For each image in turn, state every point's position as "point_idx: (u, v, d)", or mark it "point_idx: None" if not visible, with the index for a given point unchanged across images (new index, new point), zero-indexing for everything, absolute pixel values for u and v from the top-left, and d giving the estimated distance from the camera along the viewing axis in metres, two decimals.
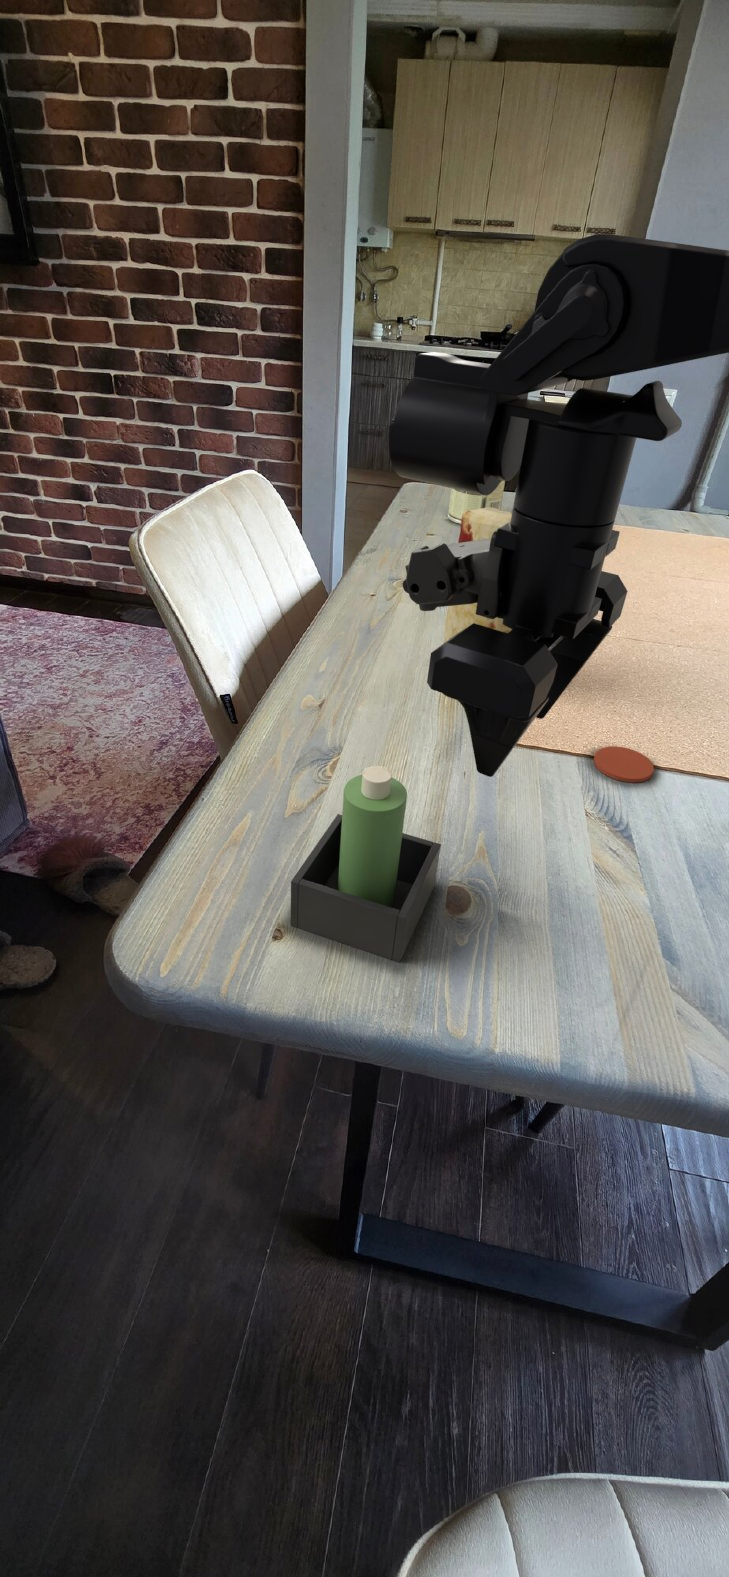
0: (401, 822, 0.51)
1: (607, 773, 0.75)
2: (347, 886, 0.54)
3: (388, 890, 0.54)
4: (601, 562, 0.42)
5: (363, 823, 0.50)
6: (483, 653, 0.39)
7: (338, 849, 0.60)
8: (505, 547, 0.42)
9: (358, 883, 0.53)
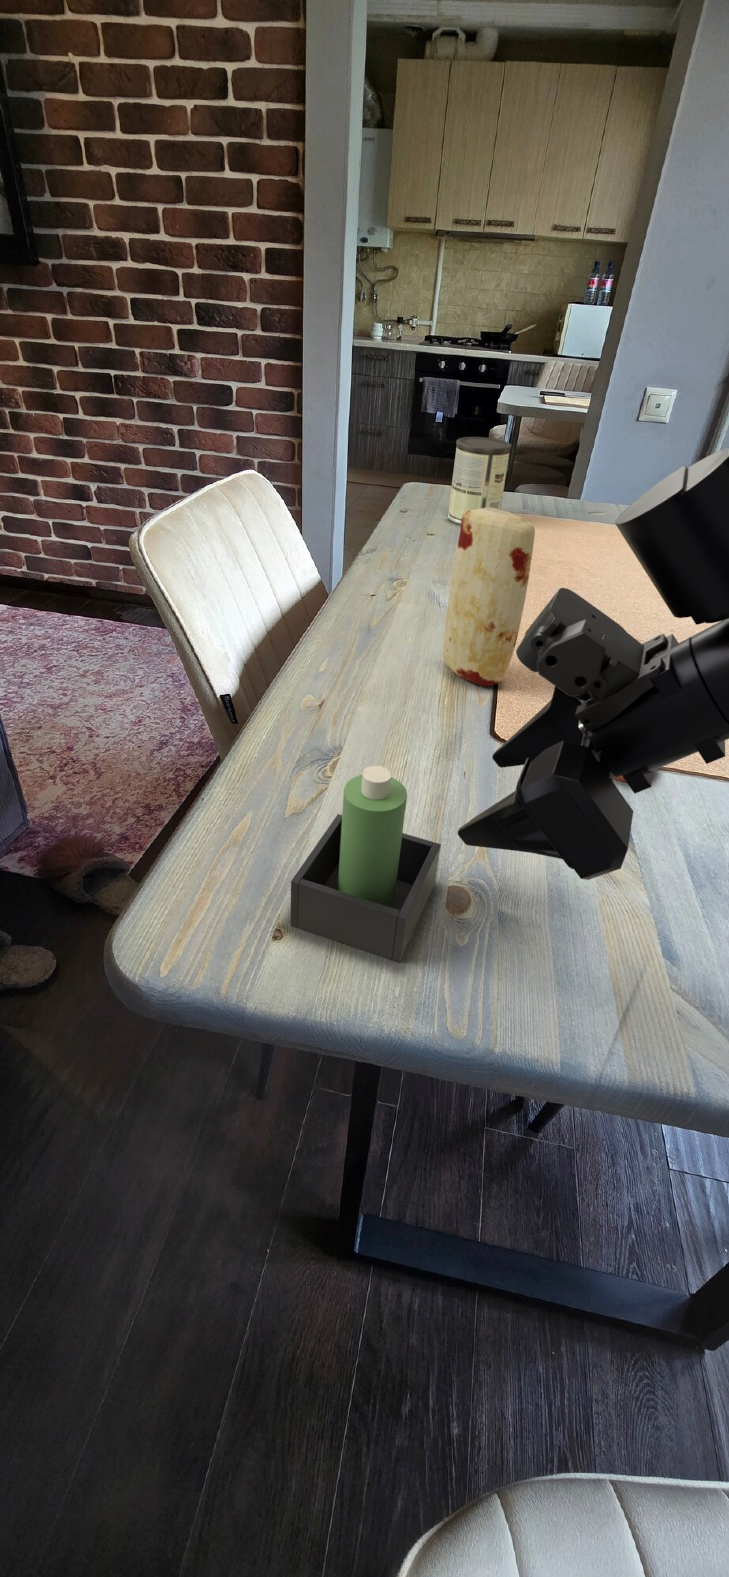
0: (401, 822, 0.51)
1: None
2: (347, 886, 0.54)
3: (388, 890, 0.54)
4: None
5: (363, 823, 0.50)
6: (602, 813, 0.35)
7: (338, 849, 0.60)
8: (658, 688, 0.38)
9: (358, 883, 0.53)
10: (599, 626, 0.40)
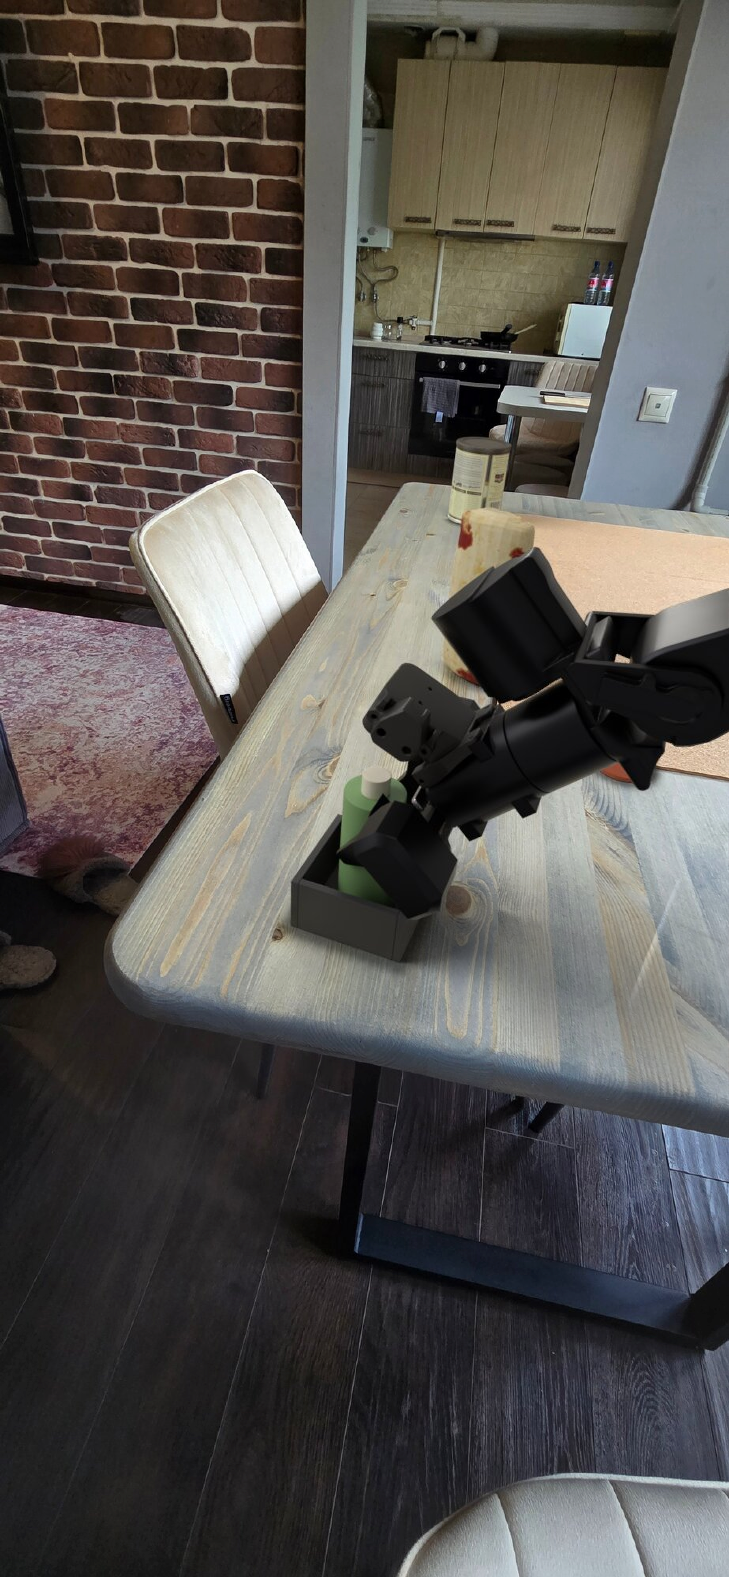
0: None
1: (607, 773, 0.75)
2: (347, 886, 0.54)
3: None
4: None
5: (363, 823, 0.50)
6: (418, 865, 0.41)
7: (338, 849, 0.60)
8: (475, 754, 0.44)
9: (358, 883, 0.53)
10: (433, 698, 0.46)
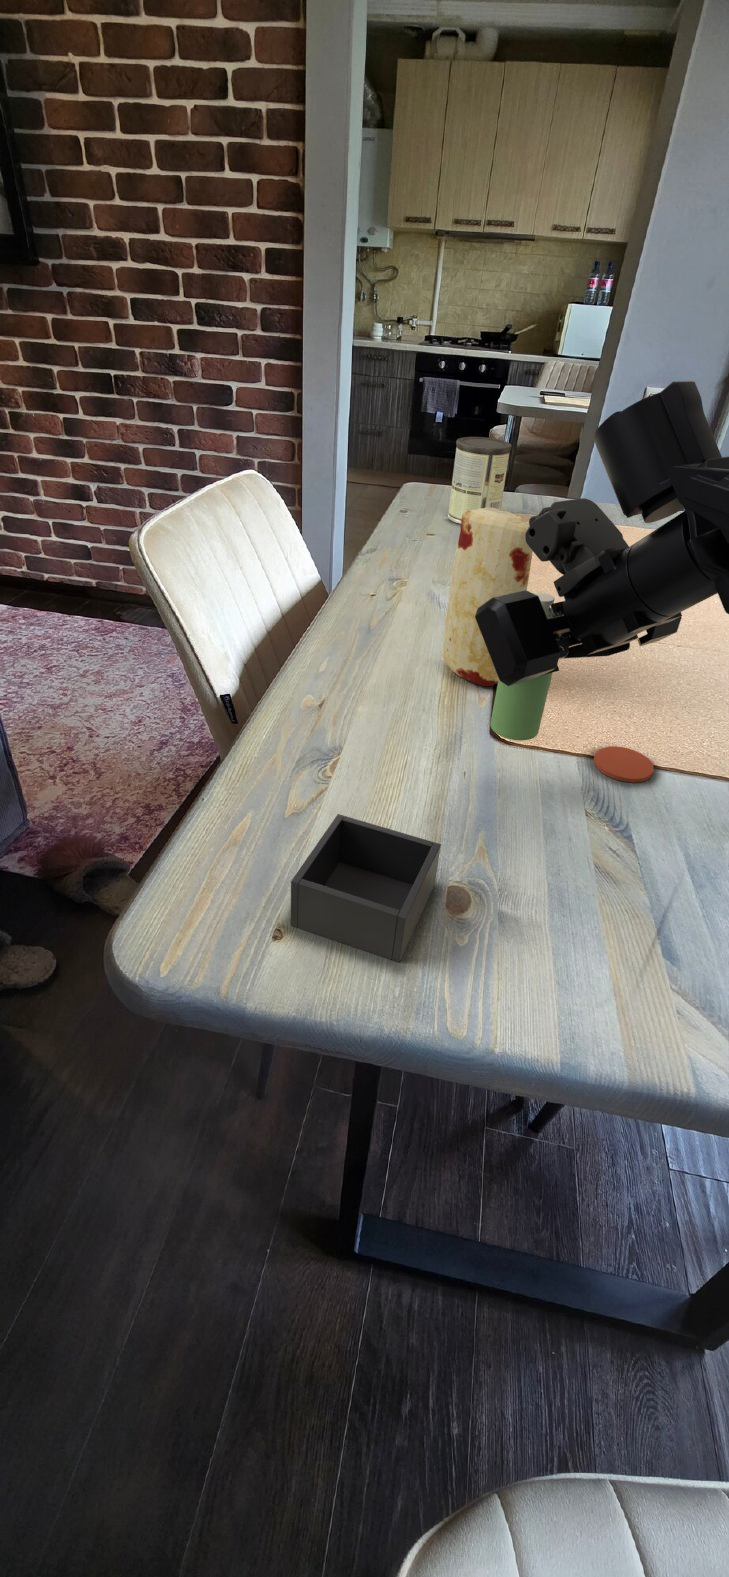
0: None
1: (607, 773, 0.75)
2: (498, 696, 0.65)
3: (529, 709, 0.64)
4: (646, 628, 0.53)
5: None
6: (516, 631, 0.52)
7: (338, 849, 0.60)
8: (602, 566, 0.52)
9: (505, 692, 0.64)
10: (594, 525, 0.54)
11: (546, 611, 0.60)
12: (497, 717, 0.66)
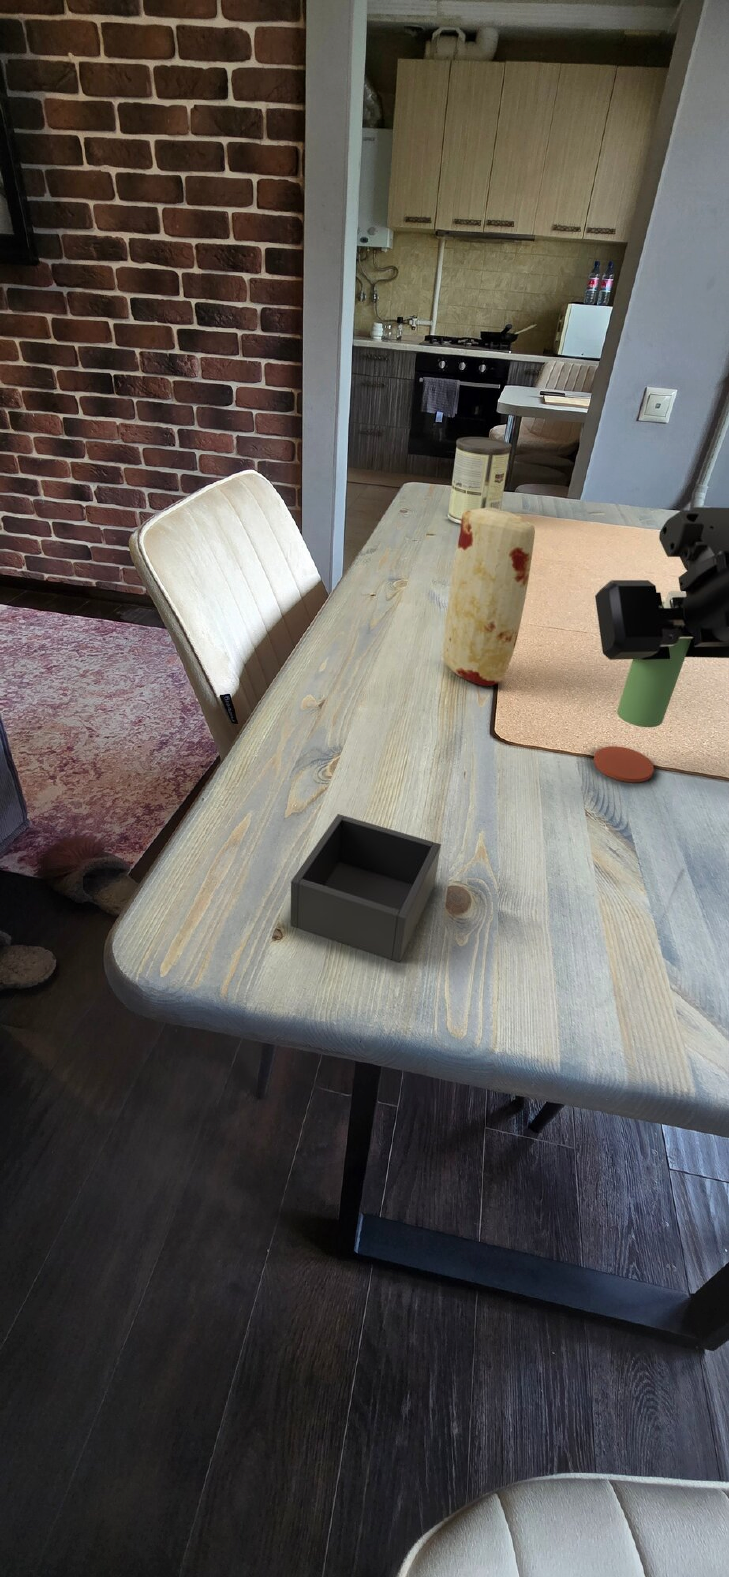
0: None
1: (607, 773, 0.75)
2: (626, 682, 0.71)
3: (650, 697, 0.69)
4: None
5: None
6: (622, 610, 0.59)
7: (338, 849, 0.60)
8: (717, 565, 0.57)
9: (631, 679, 0.70)
10: (728, 531, 0.60)
11: None
12: (622, 701, 0.72)
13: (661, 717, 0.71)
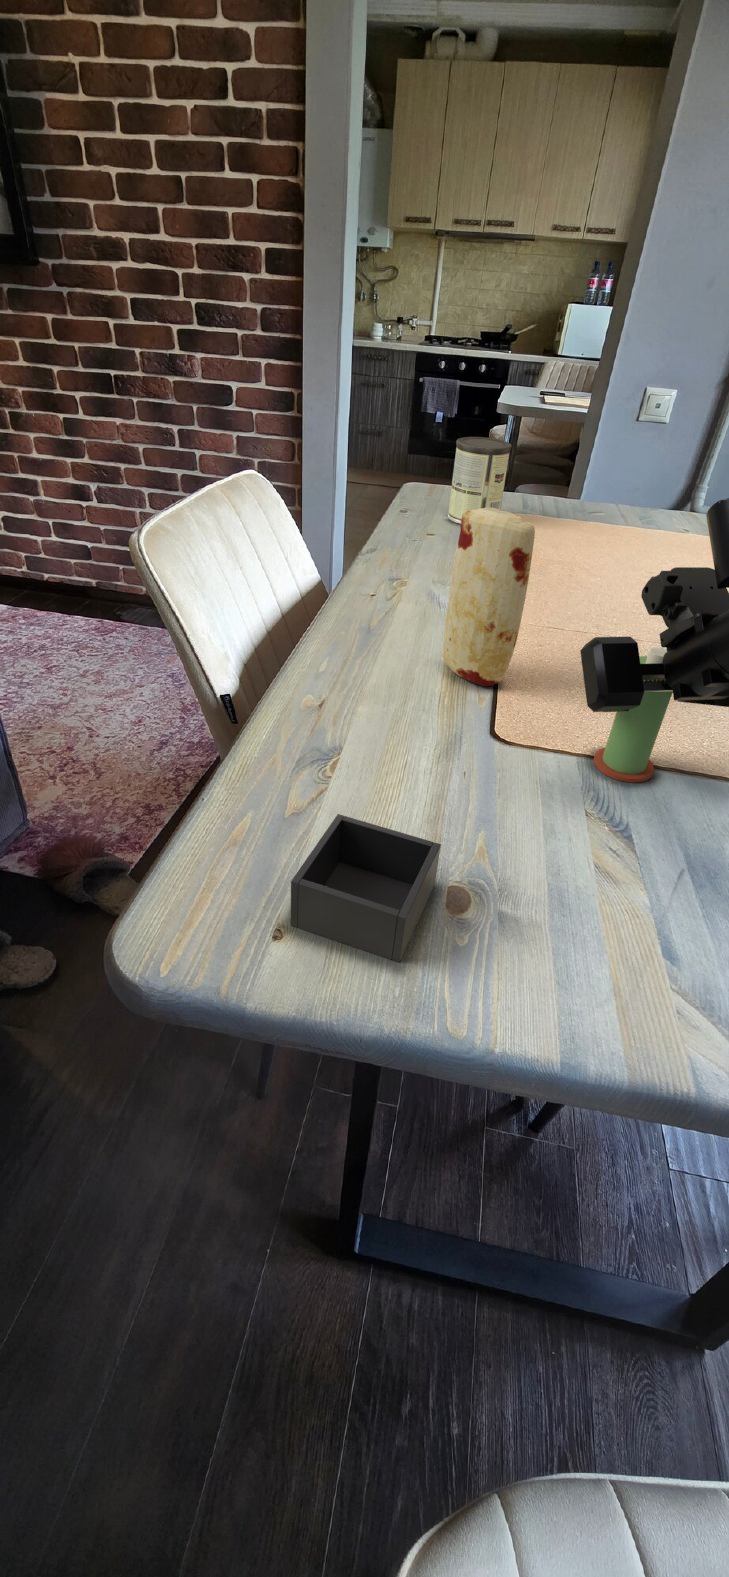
0: (658, 694, 0.69)
1: (607, 773, 0.75)
2: (611, 730, 0.75)
3: (633, 747, 0.73)
4: (726, 686, 0.60)
5: None
6: (605, 667, 0.62)
7: (338, 849, 0.60)
8: (695, 626, 0.60)
9: (615, 728, 0.73)
10: (706, 592, 0.63)
11: None
12: (607, 748, 0.75)
13: (644, 764, 0.74)
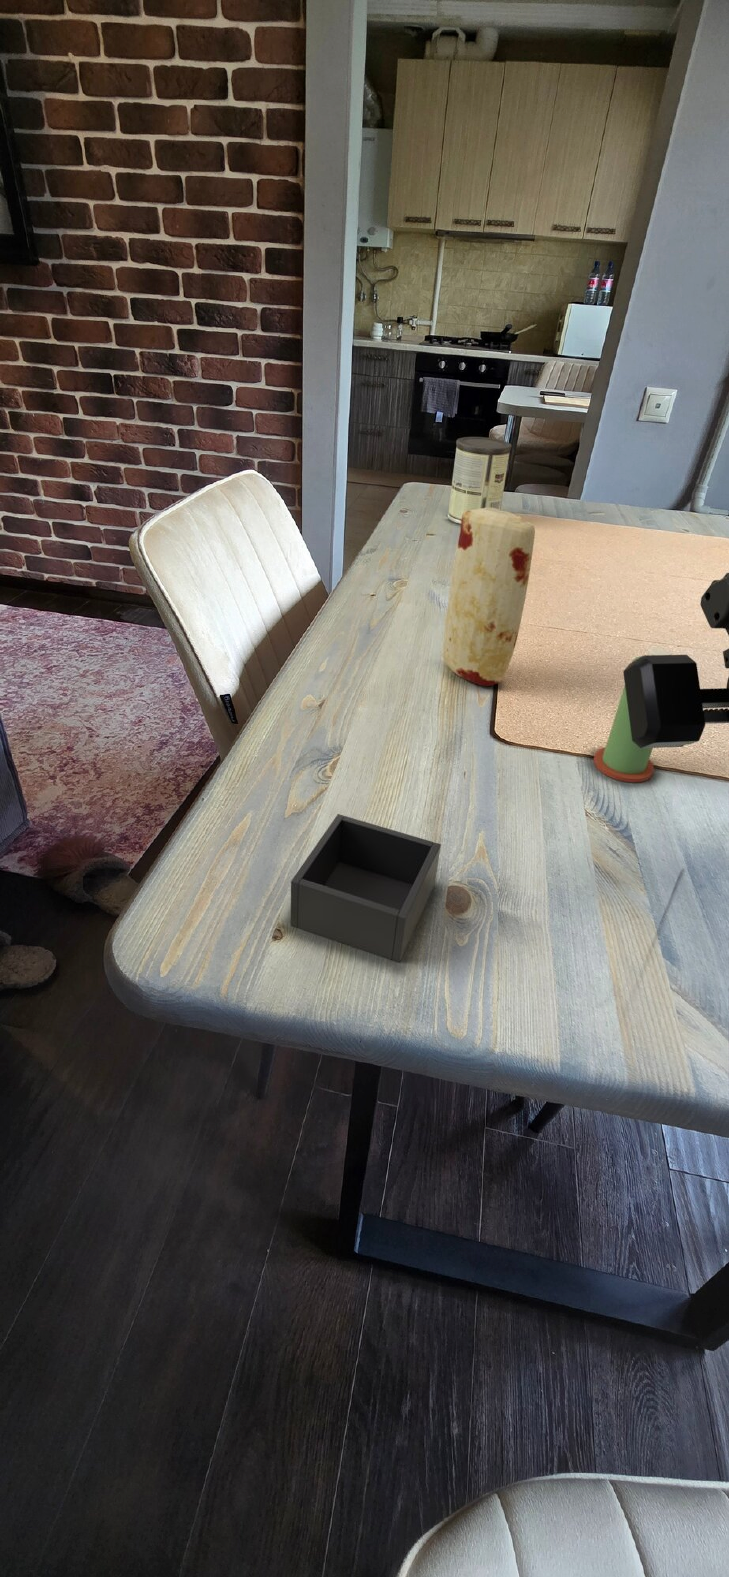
0: None
1: (607, 773, 0.75)
2: (611, 730, 0.75)
3: (633, 747, 0.73)
4: None
5: None
6: (657, 693, 0.49)
7: (338, 849, 0.60)
8: None
9: (615, 728, 0.73)
10: None
11: None
12: (607, 748, 0.75)
13: (644, 764, 0.74)
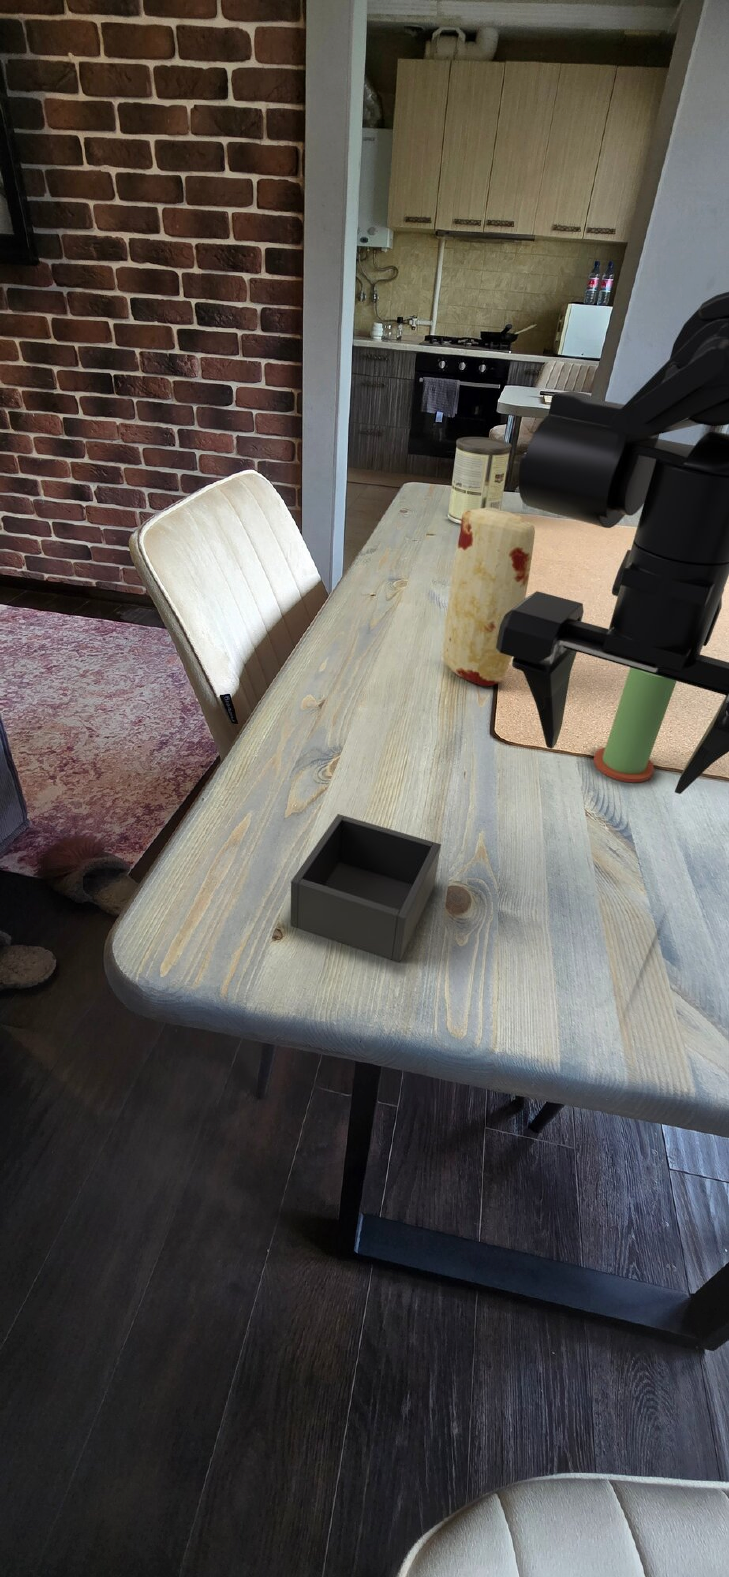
0: (658, 694, 0.69)
1: (607, 773, 0.75)
2: (611, 730, 0.75)
3: (633, 747, 0.73)
4: (657, 597, 0.42)
5: (631, 678, 0.70)
6: (526, 600, 0.50)
7: (338, 849, 0.60)
8: None
9: (615, 728, 0.73)
10: None
11: None
12: (607, 748, 0.75)
13: (644, 764, 0.74)
